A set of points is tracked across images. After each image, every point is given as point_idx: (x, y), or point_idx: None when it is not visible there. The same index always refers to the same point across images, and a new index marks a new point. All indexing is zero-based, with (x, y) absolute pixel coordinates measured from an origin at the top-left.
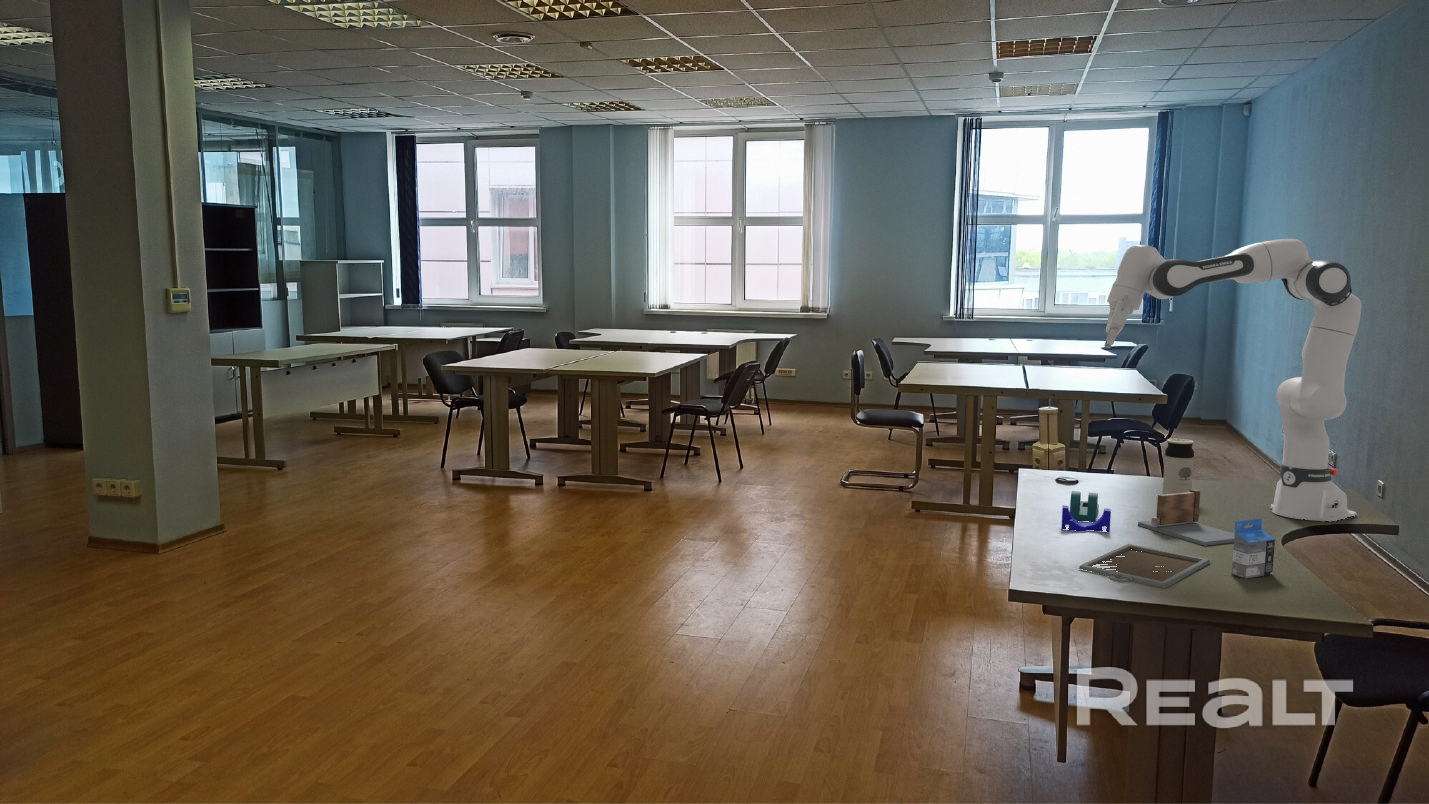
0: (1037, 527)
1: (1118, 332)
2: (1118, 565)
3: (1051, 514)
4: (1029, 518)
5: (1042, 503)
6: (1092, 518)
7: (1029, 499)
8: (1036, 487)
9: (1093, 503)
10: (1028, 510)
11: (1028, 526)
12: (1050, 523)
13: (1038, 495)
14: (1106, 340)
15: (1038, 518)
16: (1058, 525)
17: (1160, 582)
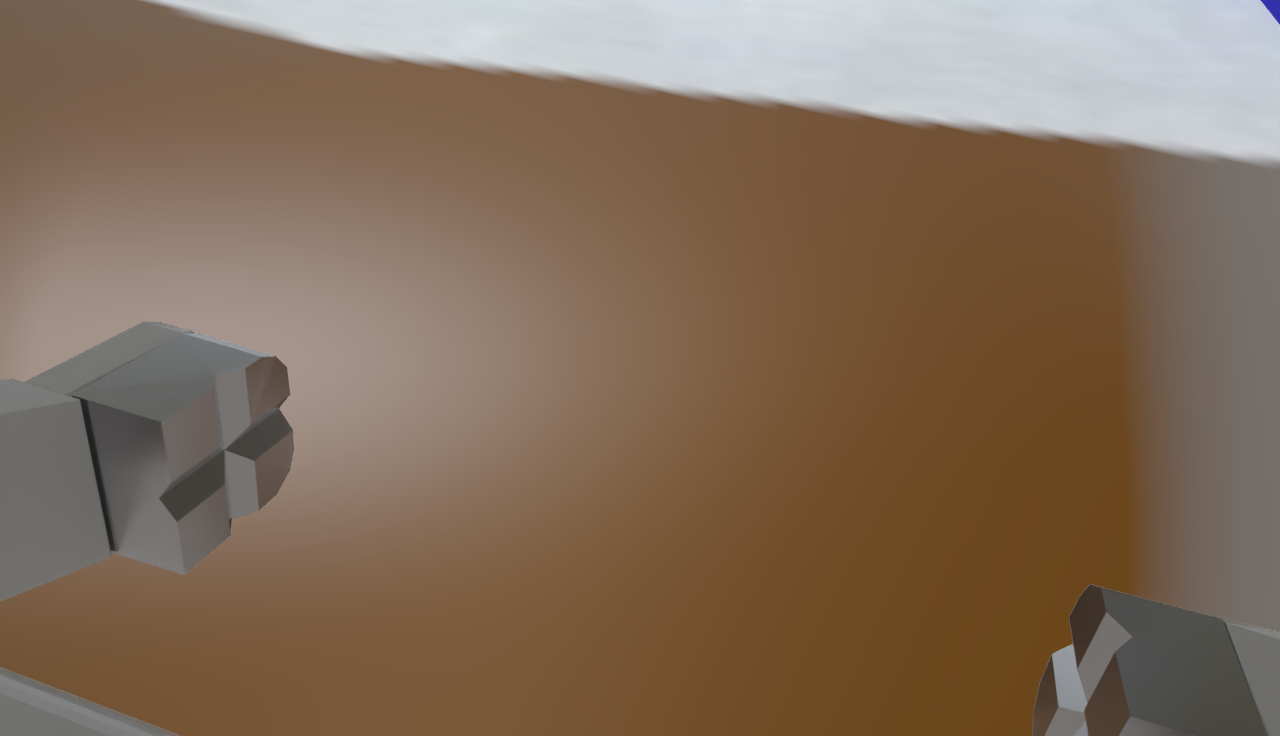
0: (1268, 111)
1: (113, 713)
2: None
3: (987, 15)
4: (1077, 125)
5: (737, 30)
6: None
7: (660, 81)
8: (362, 18)
9: None
10: (906, 111)
11: (1242, 146)
12: (1190, 43)
13: (553, 29)
14: (108, 552)
15: (1077, 86)
16: (1239, 10)
17: None
